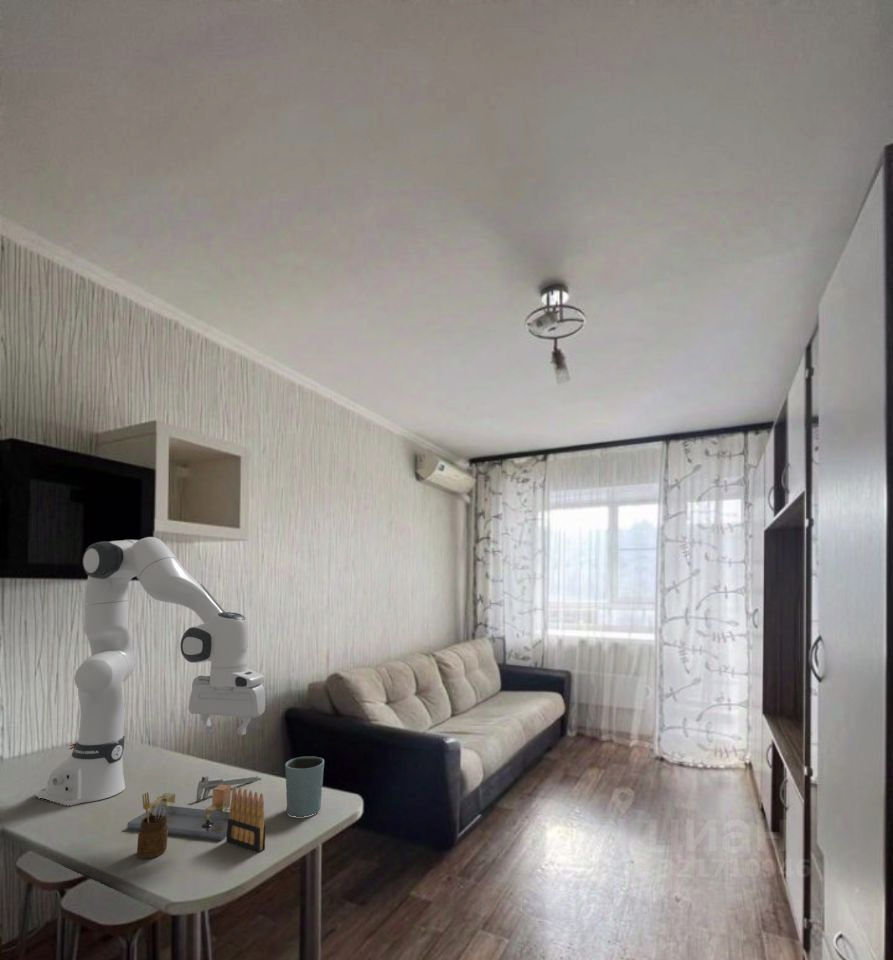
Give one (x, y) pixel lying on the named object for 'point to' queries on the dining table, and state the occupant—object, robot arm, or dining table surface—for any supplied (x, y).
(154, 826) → the utensil holder
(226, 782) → the caliper
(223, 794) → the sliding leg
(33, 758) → the dining table surface
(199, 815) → the bolt plate
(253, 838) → the ammunition clip
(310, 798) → the grey-teal cup
